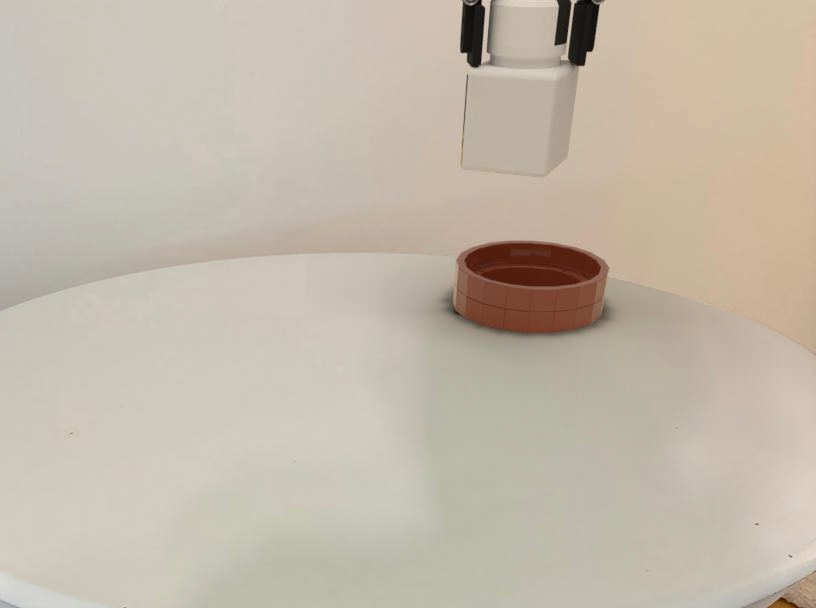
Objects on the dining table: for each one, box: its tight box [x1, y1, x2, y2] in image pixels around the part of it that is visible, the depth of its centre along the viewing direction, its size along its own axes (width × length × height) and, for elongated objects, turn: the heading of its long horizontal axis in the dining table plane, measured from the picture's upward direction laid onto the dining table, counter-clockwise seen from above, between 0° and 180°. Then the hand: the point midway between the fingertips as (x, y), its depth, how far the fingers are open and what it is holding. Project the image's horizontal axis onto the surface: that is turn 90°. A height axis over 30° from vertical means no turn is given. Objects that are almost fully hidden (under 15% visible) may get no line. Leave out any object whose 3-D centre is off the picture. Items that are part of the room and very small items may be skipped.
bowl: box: [452, 240, 610, 334], centre depth 98 cm, size 15×15×5 cm
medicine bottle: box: [460, 0, 580, 179], centre depth 77 cm, size 7×7×12 cm
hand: (524, 62), depth 76 cm, fingers closed on medicine bottle, 7 cm apart
